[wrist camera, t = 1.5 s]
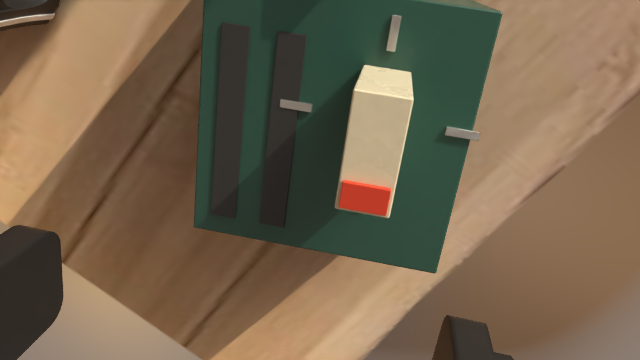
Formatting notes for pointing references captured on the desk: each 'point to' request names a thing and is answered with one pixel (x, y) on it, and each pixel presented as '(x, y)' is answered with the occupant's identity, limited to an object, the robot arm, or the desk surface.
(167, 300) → the desk surface
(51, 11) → the black computer mouse
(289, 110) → the toaster slots
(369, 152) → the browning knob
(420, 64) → the toaster
